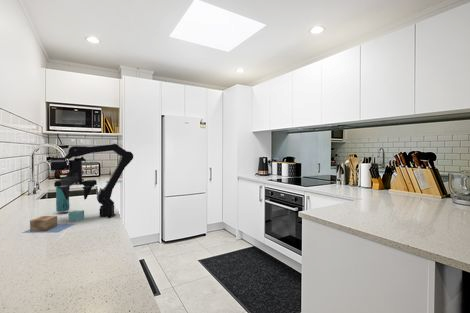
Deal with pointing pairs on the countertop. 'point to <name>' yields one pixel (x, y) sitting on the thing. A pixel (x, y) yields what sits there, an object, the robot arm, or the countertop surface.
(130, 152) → the robot arm
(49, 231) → the blue flat board
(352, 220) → the countertop surface
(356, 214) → the countertop surface
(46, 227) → the walnut base block
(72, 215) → the teal cube
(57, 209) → the beverage bottle
